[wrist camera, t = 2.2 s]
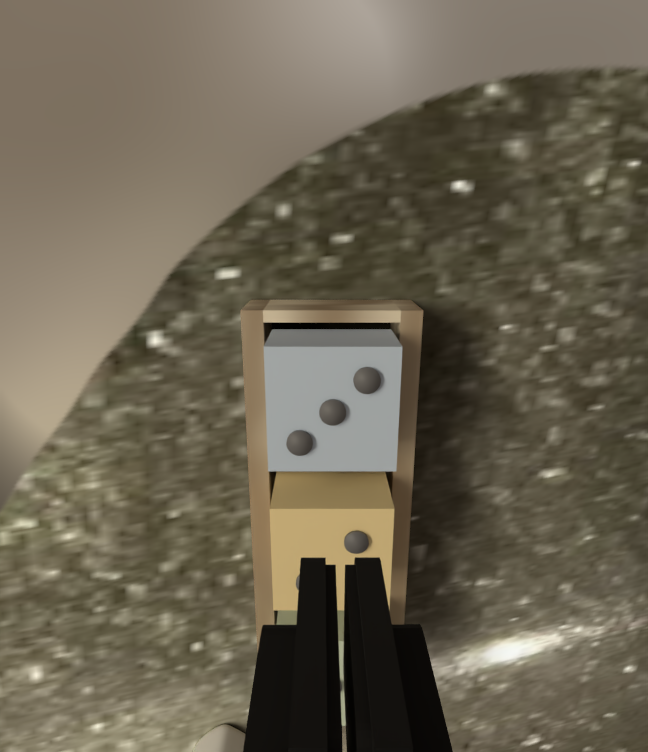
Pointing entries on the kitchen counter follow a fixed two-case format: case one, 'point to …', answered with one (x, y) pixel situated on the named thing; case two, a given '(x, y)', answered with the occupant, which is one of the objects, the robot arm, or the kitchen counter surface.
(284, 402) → the tile three blue
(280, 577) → the tile two ochre
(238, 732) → the eye dropper bottle
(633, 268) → the kitchen counter surface
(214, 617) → the kitchen counter surface
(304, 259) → the kitchen counter surface
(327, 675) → the robot arm
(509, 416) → the kitchen counter surface
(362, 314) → the tray
